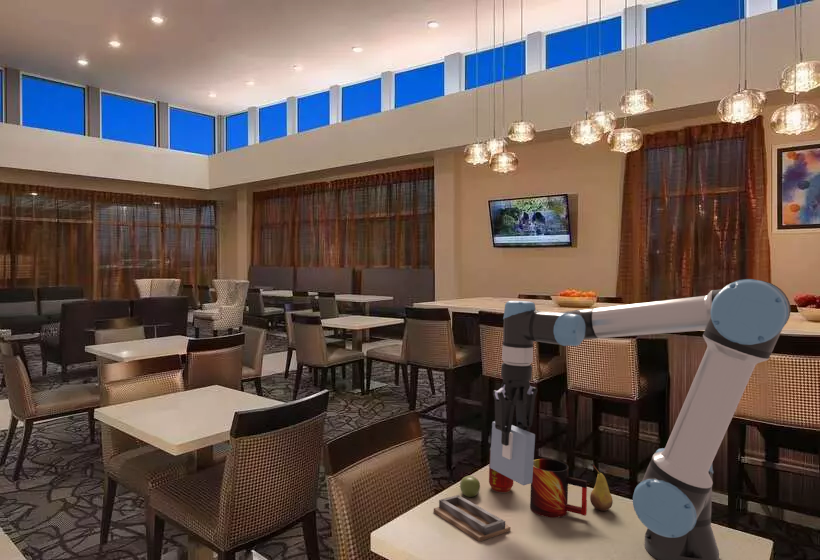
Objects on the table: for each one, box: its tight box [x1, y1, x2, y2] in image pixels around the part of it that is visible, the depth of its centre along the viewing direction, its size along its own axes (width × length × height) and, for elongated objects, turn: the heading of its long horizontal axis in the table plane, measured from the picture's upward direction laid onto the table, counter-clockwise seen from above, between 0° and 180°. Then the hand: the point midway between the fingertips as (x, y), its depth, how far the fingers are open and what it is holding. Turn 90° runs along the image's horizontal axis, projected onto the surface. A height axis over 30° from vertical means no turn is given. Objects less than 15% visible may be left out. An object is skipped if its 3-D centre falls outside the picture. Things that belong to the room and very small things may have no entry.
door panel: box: [489, 421, 536, 486], centre depth 133 cm, size 12×3×12 cm, turn 33°
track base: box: [433, 494, 511, 542], centre depth 135 cm, size 18×10×3 cm, turn 34°
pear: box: [459, 474, 481, 498], centre depth 153 cm, size 6×5×10 cm
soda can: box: [488, 447, 514, 494], centre depth 156 cm, size 7×7×12 cm
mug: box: [529, 458, 588, 519], centre depth 142 cm, size 10×14×12 cm
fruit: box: [589, 463, 614, 512], centre depth 143 cm, size 6×6×12 cm
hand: (512, 456), depth 133 cm, fingers closed on door panel, 3 cm apart
